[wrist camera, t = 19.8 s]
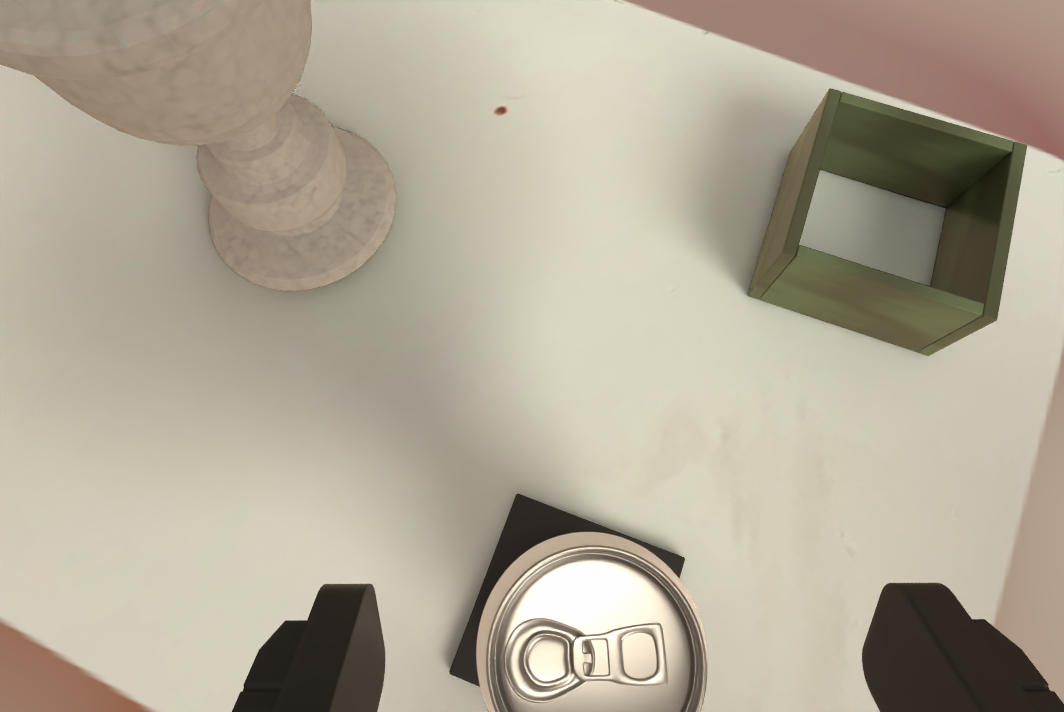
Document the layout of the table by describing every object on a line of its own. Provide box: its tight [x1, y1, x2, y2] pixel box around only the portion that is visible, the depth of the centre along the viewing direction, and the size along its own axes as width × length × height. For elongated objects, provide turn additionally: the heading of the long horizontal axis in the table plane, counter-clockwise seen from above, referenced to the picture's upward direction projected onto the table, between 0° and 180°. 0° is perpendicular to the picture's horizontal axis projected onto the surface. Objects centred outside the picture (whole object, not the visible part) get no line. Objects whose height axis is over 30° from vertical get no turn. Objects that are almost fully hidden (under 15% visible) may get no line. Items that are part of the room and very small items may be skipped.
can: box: [476, 532, 707, 712], centre depth 22 cm, size 6×6×12 cm
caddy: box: [748, 89, 1027, 356], centre depth 31 cm, size 9×9×5 cm
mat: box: [450, 494, 685, 687], centre depth 28 cm, size 8×8×1 cm
